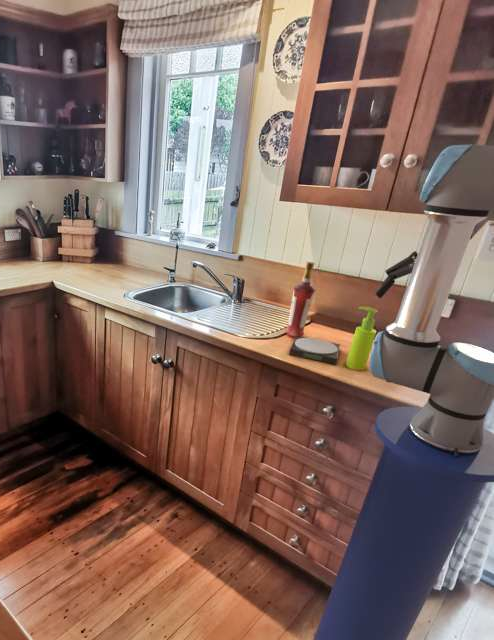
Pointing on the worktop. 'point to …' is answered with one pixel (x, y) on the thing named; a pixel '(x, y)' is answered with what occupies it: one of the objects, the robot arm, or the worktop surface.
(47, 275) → the worktop surface
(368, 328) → the soap dispenser
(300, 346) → the kitchen scale
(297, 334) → the liquor
